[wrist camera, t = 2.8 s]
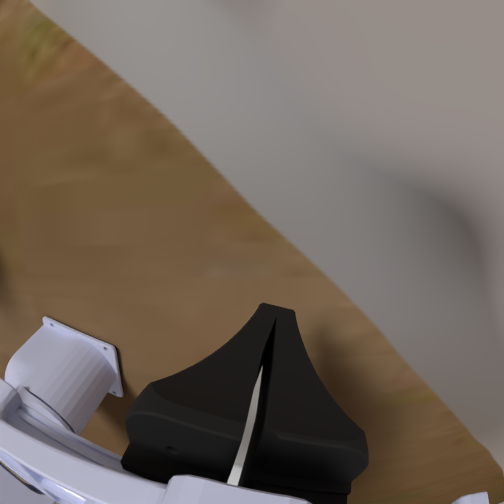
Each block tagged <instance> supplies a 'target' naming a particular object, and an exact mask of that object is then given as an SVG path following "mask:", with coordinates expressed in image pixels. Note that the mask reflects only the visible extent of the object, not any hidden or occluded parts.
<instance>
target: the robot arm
mask: <svg viewBox="0 0 504 504" xmlns="http://www.w3.org/2000/svg"><path fill="white" fill-rule="evenodd" d="M43 324H44V325H43V326H42V327H41V328H40V329H39V330H38V331H37V332H36V333H35V334H34V335H33V336H32V337H31V338H30V339H29V340H28V341H27V342H26V343H25V344H24V345H23V346H22V347H21V348H20V349H19V350H18V351H17V352H16V353H15V354H14V355H13V356H12V358H11V359H10V361H9V363H8V366H7V368H6V372H5V381H4V380H3V379H2V378H0V461H2V462H3V463H4V464H5V465H7V466H8V467H9V468H10V469H12V470H13V471H14V472H16V473H17V474H18V475H19V476H21V477H22V478H23V479H25V480H26V481H27V482H29V483H30V484H32V485H29V484H26V483H24V482H23V481H21V480H20V479H19V478H18V477H16V476H15V475H14V474H13V473H12V472H11V471H9V470H8V469H7V468H6V467H5V466H4V465H2V464H1V463H0V504H56V503H57V502H58V503H59V504H347V495H349V494H350V492H351V482H352V481H353V480H354V479H355V478H356V477H357V476H359V475H360V474H361V473H362V472H363V471H364V470H365V468H366V467H367V466H368V460H369V459H368V447H367V442H366V437H365V433H364V431H363V430H362V429H360V428H359V427H358V426H357V425H356V424H355V423H354V422H353V421H352V420H351V419H350V418H349V417H348V416H347V415H346V414H345V413H344V412H343V410H342V409H341V408H340V407H339V406H338V405H337V403H336V402H335V401H334V399H333V398H332V397H331V395H330V394H329V393H328V391H327V390H326V388H325V387H324V385H323V384H322V382H321V380H320V379H319V377H318V375H317V373H316V371H315V370H314V368H313V366H312V363H311V361H310V359H309V357H308V354H307V352H306V350H305V347H304V344H303V341H302V338H301V335H300V332H299V329H298V325H297V321H296V316H295V312H294V310H291V309H287V308H283V307H278V306H274V305H270V304H266V303H262V304H260V305H259V307H258V309H257V310H256V312H255V313H254V315H253V316H252V317H251V318H250V320H249V321H248V322H247V323H246V324H245V325H244V326H243V328H242V329H241V330H240V331H239V332H238V333H237V334H236V335H234V336H233V337H232V338H231V339H230V340H229V341H228V342H227V343H226V344H224V345H223V346H222V347H221V348H219V349H218V350H217V351H215V352H214V353H212V354H211V355H209V356H208V357H206V358H205V359H203V360H202V361H200V362H198V363H197V364H195V365H193V366H191V367H189V368H187V369H185V370H183V371H180V372H178V373H176V374H174V375H171V376H169V377H166V378H163V379H160V380H157V381H154V382H151V383H149V384H148V385H147V386H146V388H145V389H144V390H143V391H142V392H141V393H140V394H139V396H138V397H137V398H136V400H135V401H134V403H133V404H132V406H131V408H130V410H129V411H128V413H127V415H126V417H125V426H126V430H127V434H128V438H129V442H130V444H129V446H128V447H127V449H126V451H125V453H124V455H123V457H122V456H120V455H117V454H115V453H113V452H111V451H109V450H106V449H104V448H102V447H100V446H98V445H96V444H94V443H92V442H90V441H88V440H86V439H84V438H82V437H80V434H81V433H82V431H83V429H84V428H85V426H86V425H87V423H88V422H89V420H90V419H91V417H92V415H93V414H94V412H95V411H96V409H97V408H98V406H99V405H100V403H101V402H102V400H103V399H104V397H105V396H106V394H107V393H108V392H109V393H111V394H113V395H115V396H118V397H122V396H123V389H122V383H121V377H120V371H119V365H118V358H117V352H116V348H115V347H114V346H113V345H110V344H108V343H105V342H103V341H100V340H98V339H96V338H93V337H91V336H89V335H86V334H84V333H82V332H79V331H77V330H75V329H72V328H70V327H68V326H66V325H64V324H61V323H59V322H57V321H55V320H53V319H51V318H49V317H46V316H45V317H44V318H43ZM261 368H262V374H261V382H260V390H259V397H258V405H257V412H256V417H255V422H254V426H253V430H252V434H251V438H250V441H249V445H248V449H247V453H246V457H245V460H244V464H243V468H242V471H241V475H240V478H239V482H238V485H237V486H236V485H231V484H227V482H228V479H229V477H230V474H231V471H232V468H233V465H234V462H235V459H236V457H237V454H238V451H239V448H240V445H241V442H242V438H243V434H244V430H245V427H246V422H247V418H248V413H249V409H250V404H251V400H252V396H253V391H254V387H255V385H256V382H257V379H258V377H259V374H260V371H261ZM451 504H489V500H488V495H487V492H480V493H475V494H469V495H465V496H462V497H460V498H458V499H456V500H455V501H454V502H452V503H451Z"/></svg>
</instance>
